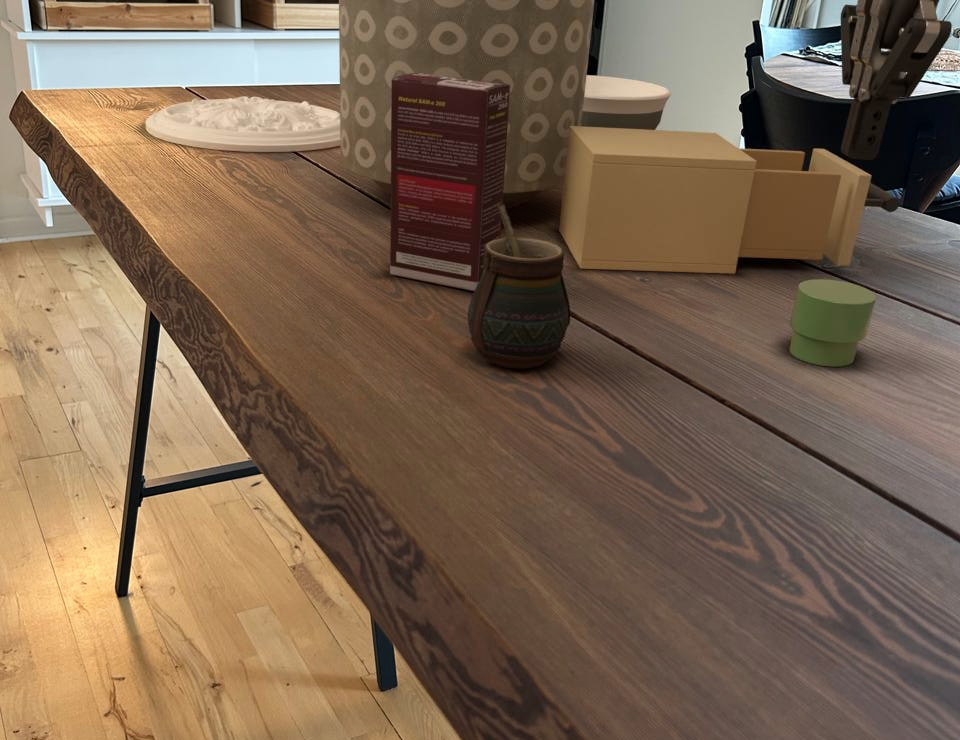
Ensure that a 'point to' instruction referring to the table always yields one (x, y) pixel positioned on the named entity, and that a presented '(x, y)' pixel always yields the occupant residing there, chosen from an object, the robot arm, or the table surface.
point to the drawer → (807, 206)
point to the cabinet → (654, 200)
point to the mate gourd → (519, 301)
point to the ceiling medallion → (247, 125)
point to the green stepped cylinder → (830, 321)
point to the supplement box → (446, 176)
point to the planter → (467, 76)
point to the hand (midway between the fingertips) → (857, 156)
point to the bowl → (622, 103)
